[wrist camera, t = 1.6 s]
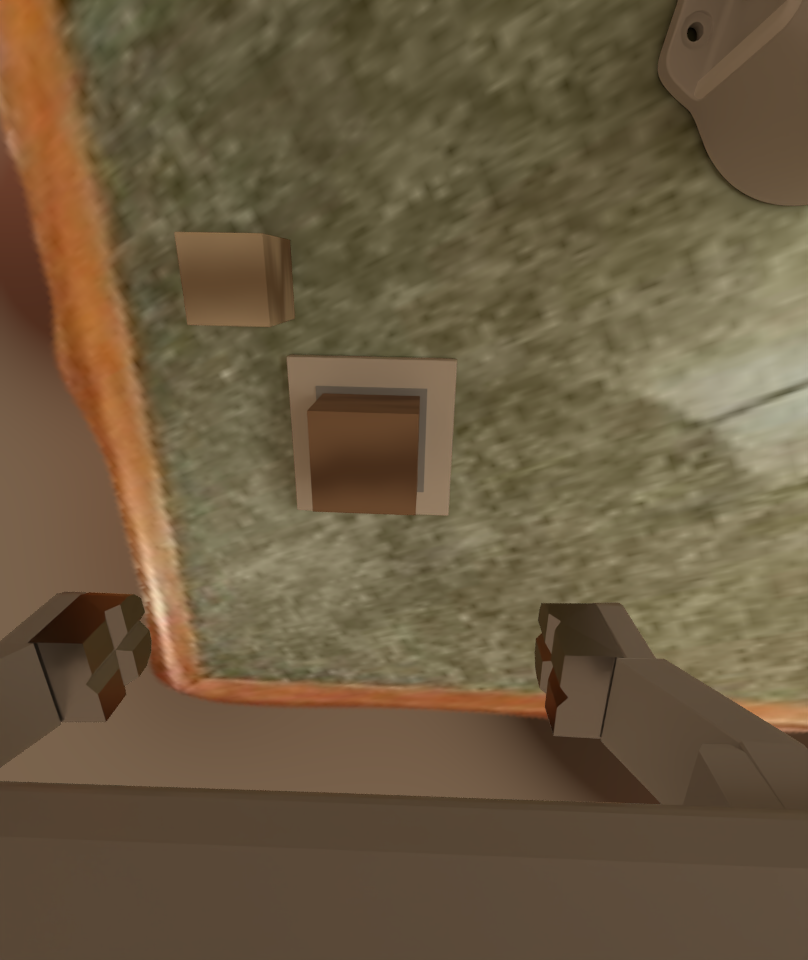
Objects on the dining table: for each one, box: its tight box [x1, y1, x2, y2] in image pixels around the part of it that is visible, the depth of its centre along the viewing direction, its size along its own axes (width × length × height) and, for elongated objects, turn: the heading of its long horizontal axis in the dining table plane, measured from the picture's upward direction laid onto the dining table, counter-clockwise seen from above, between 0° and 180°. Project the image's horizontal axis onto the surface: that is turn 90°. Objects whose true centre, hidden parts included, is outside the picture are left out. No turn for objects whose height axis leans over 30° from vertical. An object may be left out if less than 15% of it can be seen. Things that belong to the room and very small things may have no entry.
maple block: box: [174, 232, 295, 327], centre depth 32 cm, size 5×5×6 cm
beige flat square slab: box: [287, 355, 457, 515], centre depth 38 cm, size 12×12×1 cm
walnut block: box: [307, 393, 420, 515], centre depth 35 cm, size 7×7×5 cm
